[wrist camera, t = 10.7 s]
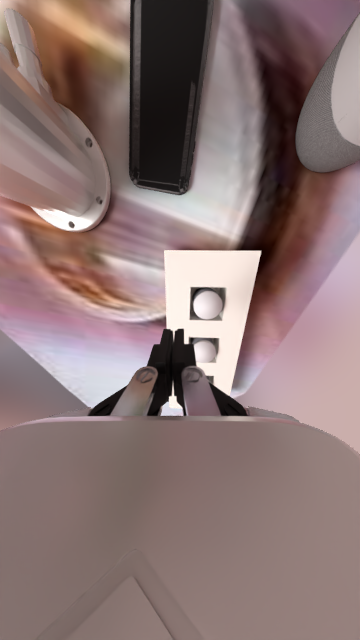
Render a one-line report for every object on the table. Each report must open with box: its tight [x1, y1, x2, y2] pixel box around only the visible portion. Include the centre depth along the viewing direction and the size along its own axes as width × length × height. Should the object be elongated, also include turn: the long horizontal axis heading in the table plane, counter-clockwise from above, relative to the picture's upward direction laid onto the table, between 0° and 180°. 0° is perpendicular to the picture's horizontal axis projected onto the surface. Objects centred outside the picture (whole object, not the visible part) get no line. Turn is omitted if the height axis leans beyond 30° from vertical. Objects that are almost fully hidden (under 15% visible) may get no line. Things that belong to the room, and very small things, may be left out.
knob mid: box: [191, 337, 216, 363], centre depth 24 cm, size 4×4×4 cm
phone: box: [129, 0, 213, 195], centre depth 16 cm, size 8×1×15 cm
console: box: [164, 250, 261, 408], centre depth 25 cm, size 30×12×5 cm, turn 0°
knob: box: [192, 287, 223, 319], centre depth 21 cm, size 4×4×4 cm
